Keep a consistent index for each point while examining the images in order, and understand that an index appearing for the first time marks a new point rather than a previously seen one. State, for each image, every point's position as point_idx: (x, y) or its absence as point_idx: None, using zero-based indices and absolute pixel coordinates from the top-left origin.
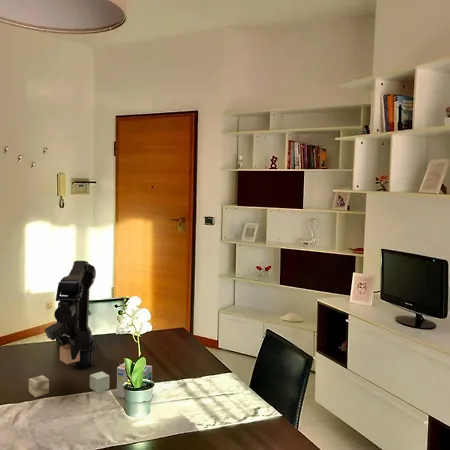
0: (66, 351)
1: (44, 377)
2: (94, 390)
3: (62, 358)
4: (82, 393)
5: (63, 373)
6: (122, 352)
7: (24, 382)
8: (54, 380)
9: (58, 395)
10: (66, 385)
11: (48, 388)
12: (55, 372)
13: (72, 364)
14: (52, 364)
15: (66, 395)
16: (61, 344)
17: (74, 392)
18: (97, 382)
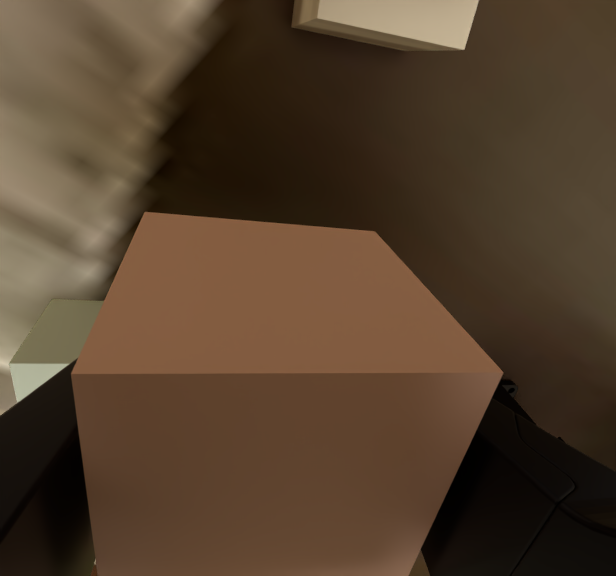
0: (93, 342)
1: (404, 22)
2: (90, 302)
3: (300, 243)
4: (103, 220)
5: (470, 299)
6: (414, 568)
7: (601, 19)
8: (440, 203)
9: (193, 57)
10: (311, 215)
11: (299, 18)
12: (521, 274)
13: (499, 383)
14: (606, 317)
15: (148, 107)
16: (543, 438)
17: (160, 187)
18: (23, 347)
